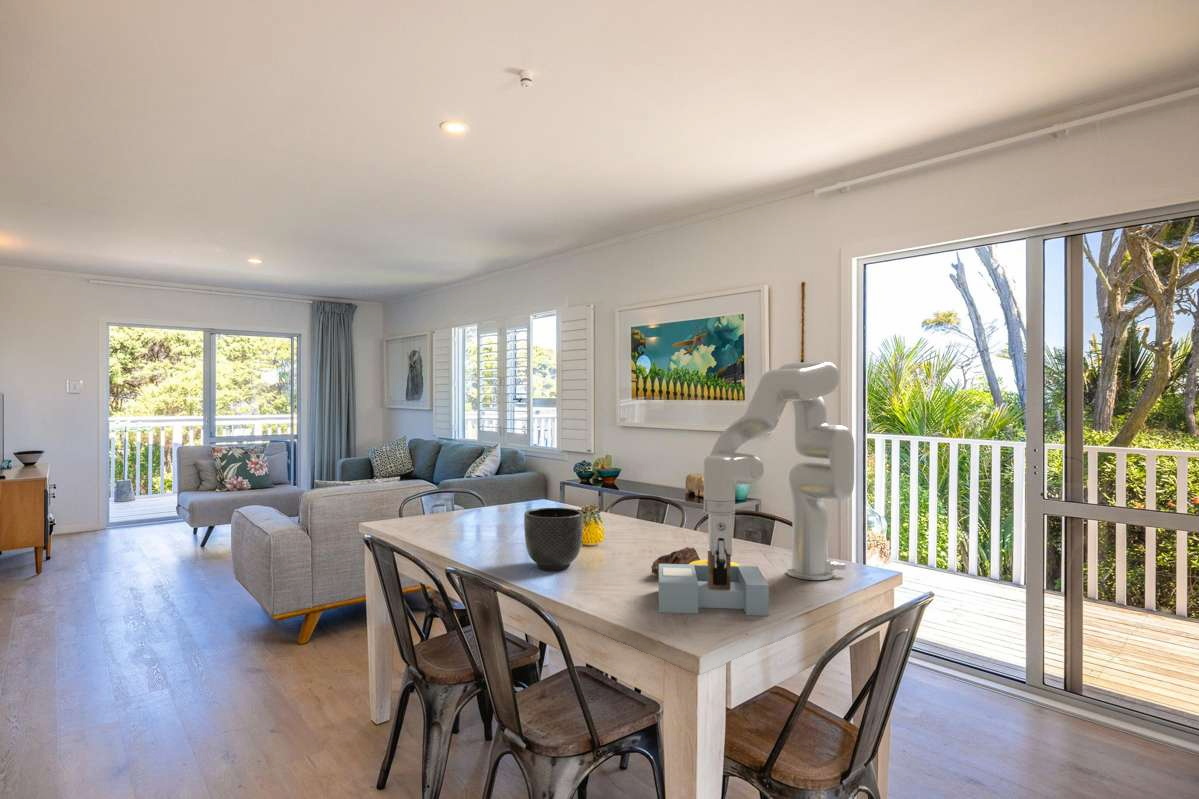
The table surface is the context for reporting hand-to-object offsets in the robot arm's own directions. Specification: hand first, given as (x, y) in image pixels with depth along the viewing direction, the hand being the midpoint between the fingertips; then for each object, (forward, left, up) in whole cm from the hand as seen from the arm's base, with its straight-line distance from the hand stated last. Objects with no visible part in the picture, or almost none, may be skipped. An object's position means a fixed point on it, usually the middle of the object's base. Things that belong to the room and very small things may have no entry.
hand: (718, 580), depth 161 cm
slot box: (+2, 0, -5) cm, 6 cm away
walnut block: (0, 0, -1) cm, 1 cm away
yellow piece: (-1, -21, -6) cm, 22 cm away
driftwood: (+9, -27, -6) cm, 29 cm away
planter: (+45, -29, -6) cm, 54 cm away
